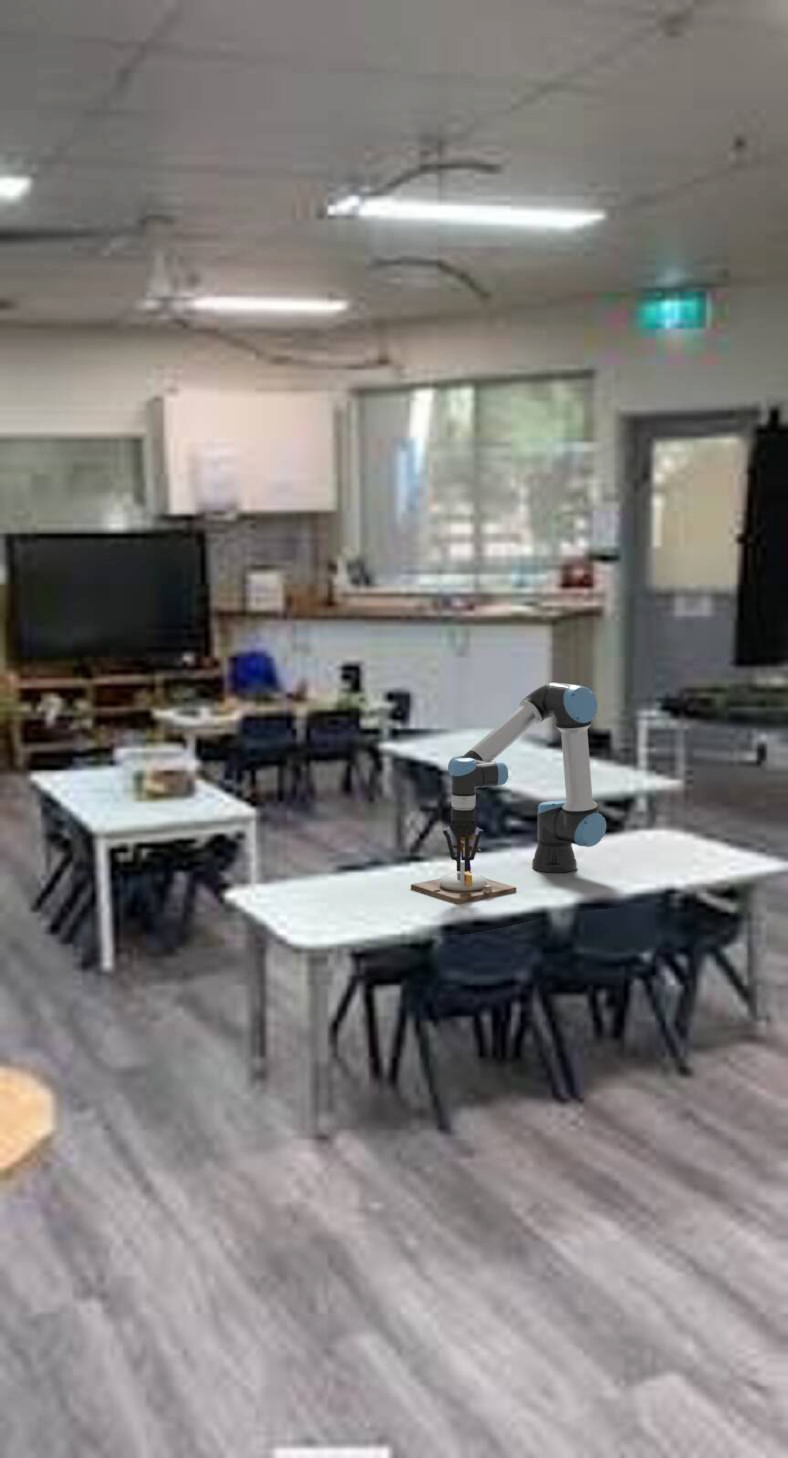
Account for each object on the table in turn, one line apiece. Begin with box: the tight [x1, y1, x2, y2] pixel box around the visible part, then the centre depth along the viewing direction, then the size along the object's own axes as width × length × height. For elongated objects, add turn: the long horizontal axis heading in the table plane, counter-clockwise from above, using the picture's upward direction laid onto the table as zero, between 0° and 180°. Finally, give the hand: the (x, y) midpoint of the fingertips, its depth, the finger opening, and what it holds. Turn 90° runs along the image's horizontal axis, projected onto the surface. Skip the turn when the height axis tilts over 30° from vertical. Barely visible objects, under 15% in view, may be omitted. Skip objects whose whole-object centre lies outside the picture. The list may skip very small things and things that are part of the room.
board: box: [410, 878, 517, 905], centre depth 462 cm, size 24×24×4 cm
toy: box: [452, 832, 482, 873], centre depth 486 cm, size 11×6×15 cm, turn 62°
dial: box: [439, 871, 488, 891], centre depth 460 cm, size 18×15×6 cm
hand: (462, 881), depth 454 cm, fingers closed
